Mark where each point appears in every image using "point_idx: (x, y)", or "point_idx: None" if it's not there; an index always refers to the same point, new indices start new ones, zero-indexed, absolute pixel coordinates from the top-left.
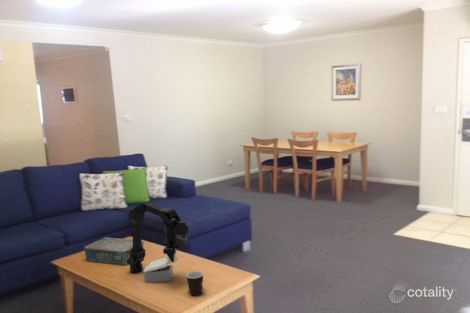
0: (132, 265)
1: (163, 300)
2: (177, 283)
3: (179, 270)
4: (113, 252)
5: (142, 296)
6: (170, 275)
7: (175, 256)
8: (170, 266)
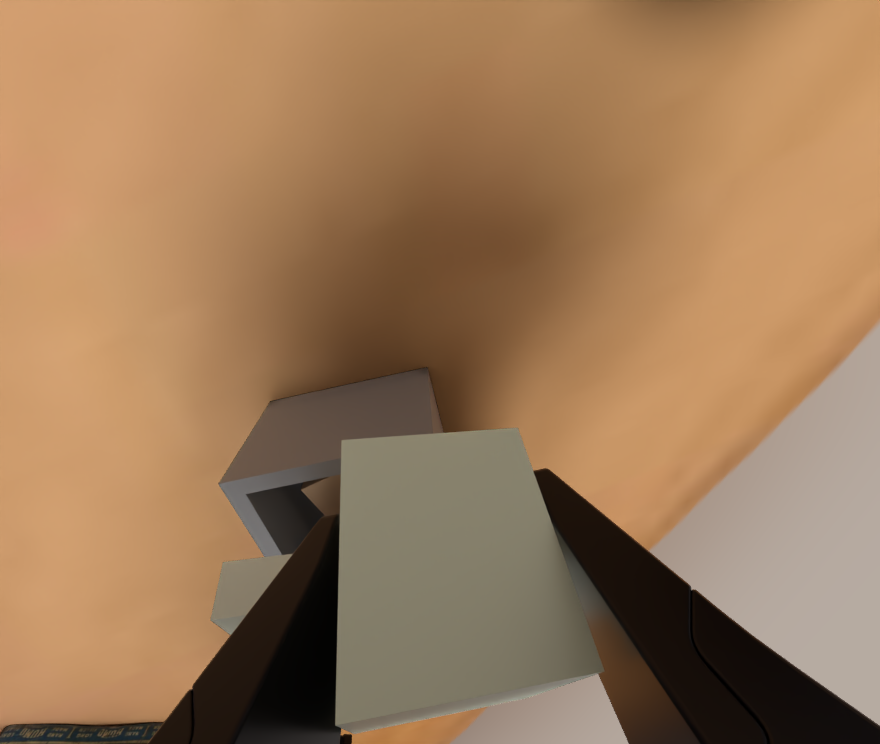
0: (350, 737)
1: (804, 272)
2: (430, 286)
3: (118, 394)
4: None
5: (686, 465)
6: (381, 406)
7: (418, 554)
8: (272, 485)
